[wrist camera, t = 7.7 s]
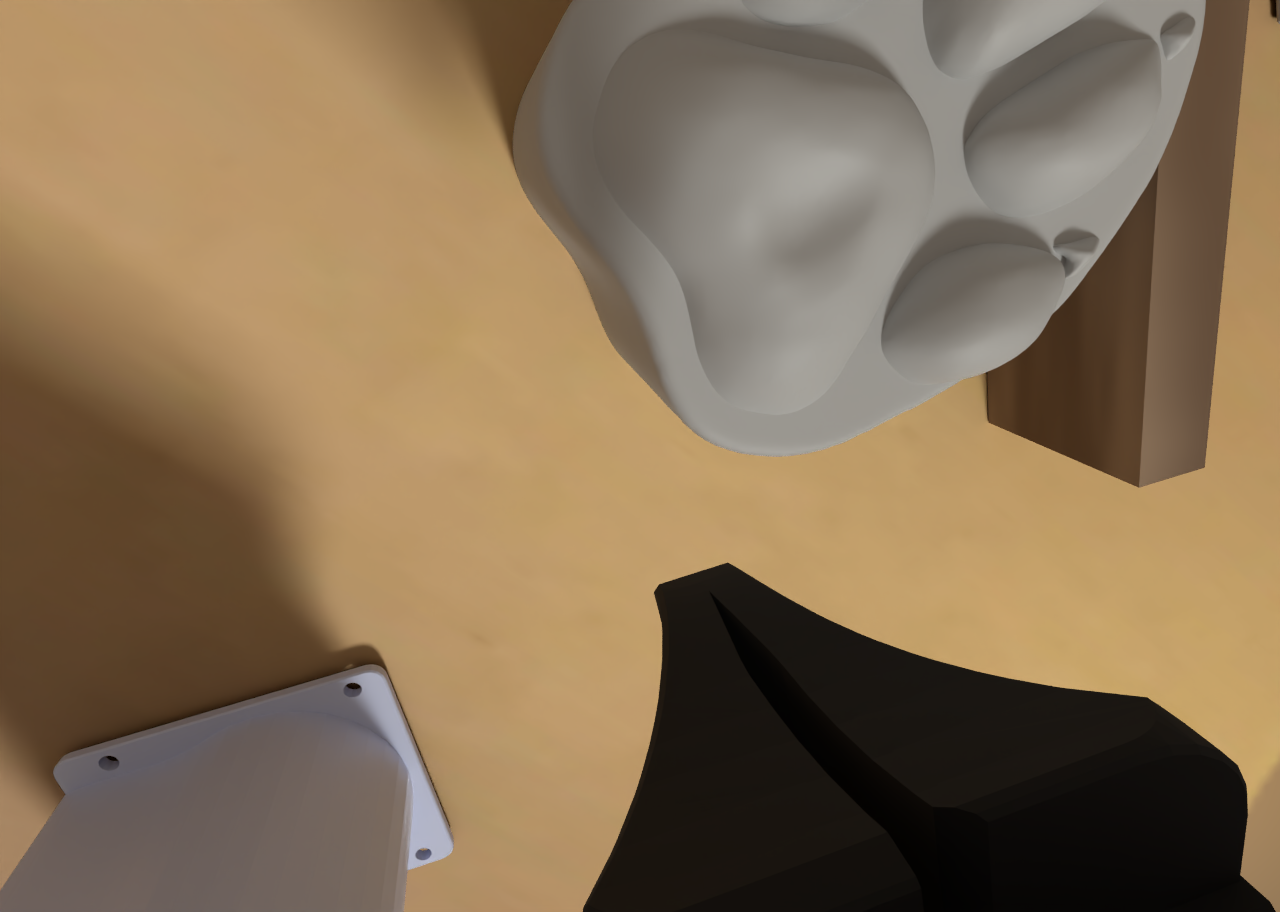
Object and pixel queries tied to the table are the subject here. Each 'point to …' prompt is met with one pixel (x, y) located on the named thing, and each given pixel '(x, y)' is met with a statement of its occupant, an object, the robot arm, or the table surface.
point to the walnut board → (1145, 301)
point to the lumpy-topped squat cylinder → (841, 189)
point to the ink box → (1278, 10)
